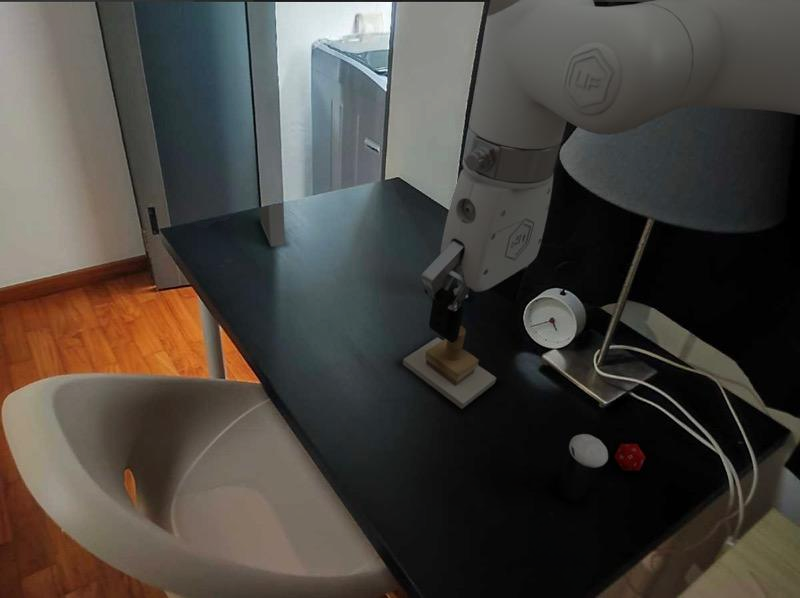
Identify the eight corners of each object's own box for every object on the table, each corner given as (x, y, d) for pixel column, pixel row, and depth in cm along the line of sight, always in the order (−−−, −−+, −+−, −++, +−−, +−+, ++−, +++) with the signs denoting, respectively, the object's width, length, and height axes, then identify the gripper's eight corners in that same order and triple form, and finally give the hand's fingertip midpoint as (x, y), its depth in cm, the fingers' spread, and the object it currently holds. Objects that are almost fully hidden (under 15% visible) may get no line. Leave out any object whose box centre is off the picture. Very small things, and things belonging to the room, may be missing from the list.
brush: (476, 372, 87) (485, 334, 82) (455, 387, 84) (464, 348, 80) (444, 350, 90) (451, 312, 86) (423, 364, 88) (430, 325, 83)
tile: (495, 383, 87) (496, 377, 87) (461, 409, 83) (463, 403, 82) (436, 342, 94) (437, 336, 93) (402, 364, 89) (403, 358, 88)
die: (645, 451, 78) (635, 434, 76) (651, 473, 75) (641, 455, 73) (618, 458, 79) (608, 441, 78) (624, 480, 77) (613, 462, 75)
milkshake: (540, 482, 74) (560, 431, 68) (573, 470, 76) (596, 420, 70) (561, 512, 71) (584, 462, 65) (595, 499, 73) (621, 449, 67)
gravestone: (270, 246, 111) (266, 159, 100) (260, 222, 118) (255, 138, 107) (284, 244, 112) (282, 158, 101) (274, 221, 119) (270, 137, 108)
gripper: (481, 199, 40) (446, 374, 51) (602, 145, 51) (552, 299, 61) (404, 161, 44) (387, 330, 54) (531, 118, 55) (496, 267, 65)
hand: (474, 313), depth 58 cm, fingers open, 9 cm apart
